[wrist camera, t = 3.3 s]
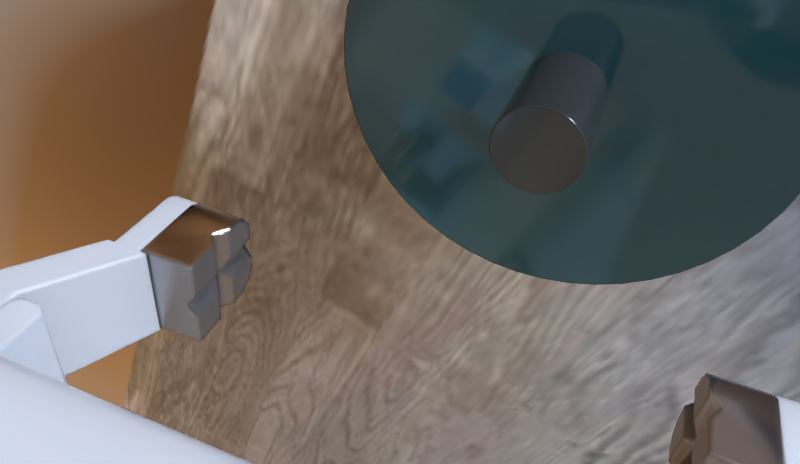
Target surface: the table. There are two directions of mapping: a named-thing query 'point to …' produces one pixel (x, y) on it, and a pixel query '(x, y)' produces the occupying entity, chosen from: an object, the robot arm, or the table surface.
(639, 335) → the table surface
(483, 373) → the table surface
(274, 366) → the table surface
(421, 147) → the pot lid
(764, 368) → the table surface
